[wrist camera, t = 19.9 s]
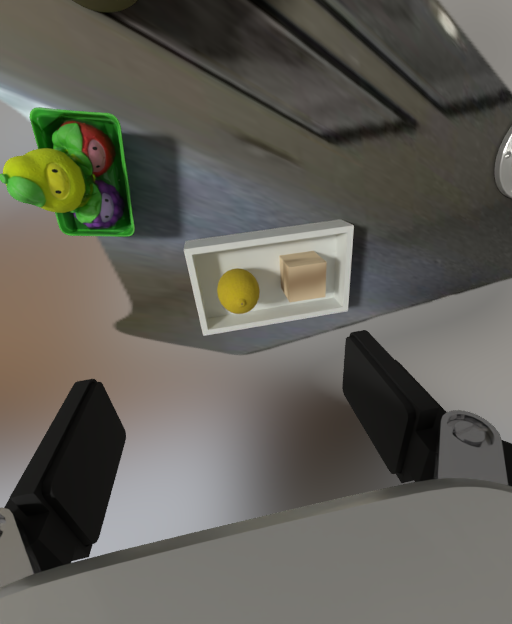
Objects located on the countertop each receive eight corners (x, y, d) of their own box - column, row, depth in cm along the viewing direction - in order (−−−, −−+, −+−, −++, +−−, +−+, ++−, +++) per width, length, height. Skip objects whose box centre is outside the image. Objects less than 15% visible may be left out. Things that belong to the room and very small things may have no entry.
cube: (313, 282, 43) (325, 296, 39) (280, 287, 43) (289, 302, 38) (313, 250, 41) (326, 261, 36) (279, 255, 40) (288, 267, 36)
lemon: (249, 299, 43) (257, 327, 36) (212, 293, 41) (214, 320, 34) (258, 265, 40) (270, 287, 33) (220, 257, 39) (223, 278, 32)
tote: (340, 219, 40) (353, 225, 36) (336, 299, 46) (347, 310, 42) (185, 240, 38) (183, 249, 34) (203, 321, 44) (203, 335, 40)
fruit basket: (144, 227, 36) (122, 253, 26) (68, 225, 35) (15, 252, 25) (130, 120, 31) (97, 102, 21) (39, 112, 29) (-42, 90, 20)
